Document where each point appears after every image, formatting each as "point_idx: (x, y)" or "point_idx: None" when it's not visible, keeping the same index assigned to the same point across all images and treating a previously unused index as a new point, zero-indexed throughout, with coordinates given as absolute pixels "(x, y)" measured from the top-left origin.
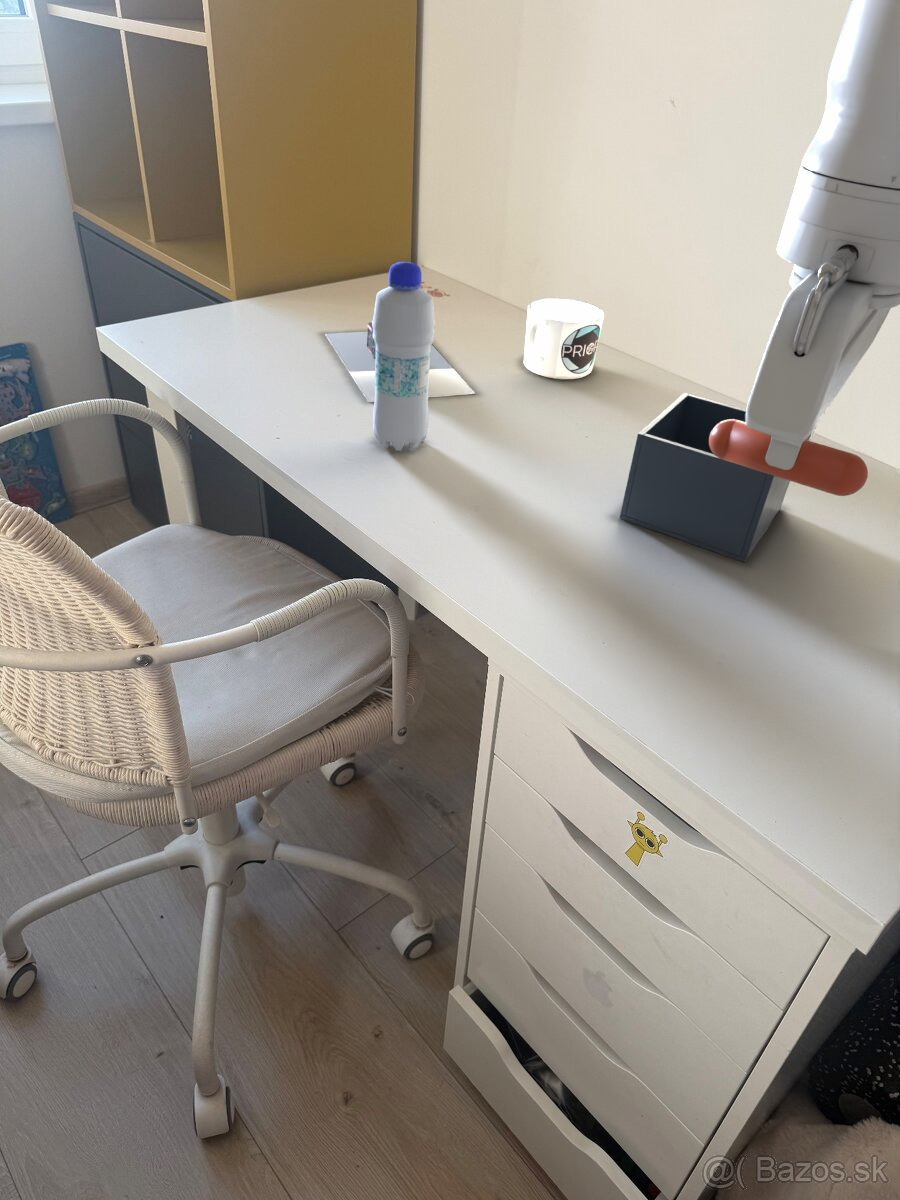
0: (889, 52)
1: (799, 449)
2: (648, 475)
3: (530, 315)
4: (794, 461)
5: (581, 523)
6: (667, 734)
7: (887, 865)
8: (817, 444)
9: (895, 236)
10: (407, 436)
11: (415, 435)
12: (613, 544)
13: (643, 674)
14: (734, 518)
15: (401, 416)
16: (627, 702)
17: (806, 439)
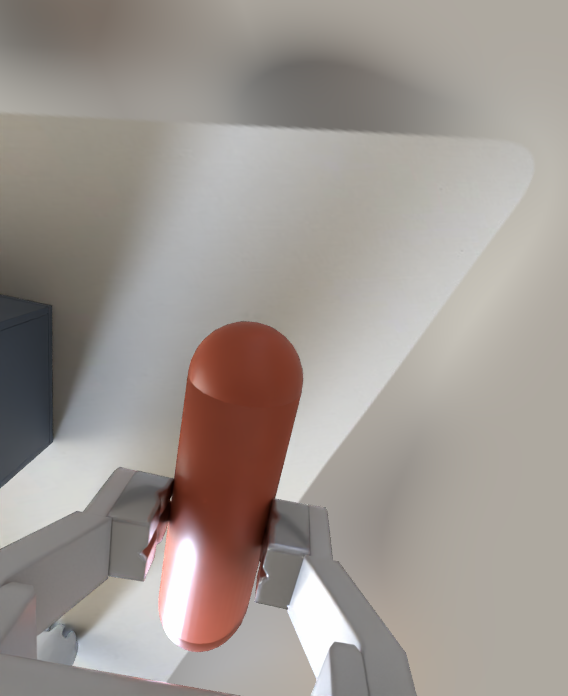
0: None
1: (329, 550)
2: (3, 463)
3: None
4: (327, 521)
5: (88, 472)
6: (380, 351)
7: (490, 142)
8: (215, 486)
9: None
10: (62, 647)
11: (55, 642)
12: (107, 438)
13: (306, 382)
14: (13, 347)
15: None
16: (351, 389)
17: (166, 494)
